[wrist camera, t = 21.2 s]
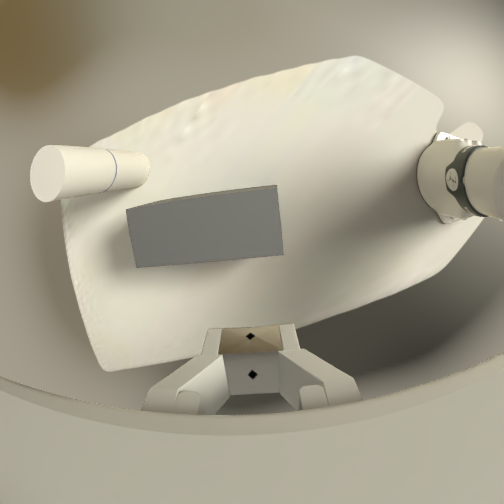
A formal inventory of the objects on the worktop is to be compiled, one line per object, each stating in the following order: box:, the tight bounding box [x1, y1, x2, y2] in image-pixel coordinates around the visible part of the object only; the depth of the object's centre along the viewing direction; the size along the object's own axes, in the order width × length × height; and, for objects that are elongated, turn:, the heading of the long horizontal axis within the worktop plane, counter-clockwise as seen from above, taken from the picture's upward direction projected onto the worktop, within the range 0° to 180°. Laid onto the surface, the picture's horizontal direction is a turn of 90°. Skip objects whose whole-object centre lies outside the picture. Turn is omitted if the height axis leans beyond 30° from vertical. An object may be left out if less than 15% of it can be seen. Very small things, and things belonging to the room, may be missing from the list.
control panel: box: [126, 185, 284, 268], centre depth 45 cm, size 22×9×14 cm, turn 97°
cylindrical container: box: [30, 145, 150, 202], centre depth 38 cm, size 7×7×25 cm
